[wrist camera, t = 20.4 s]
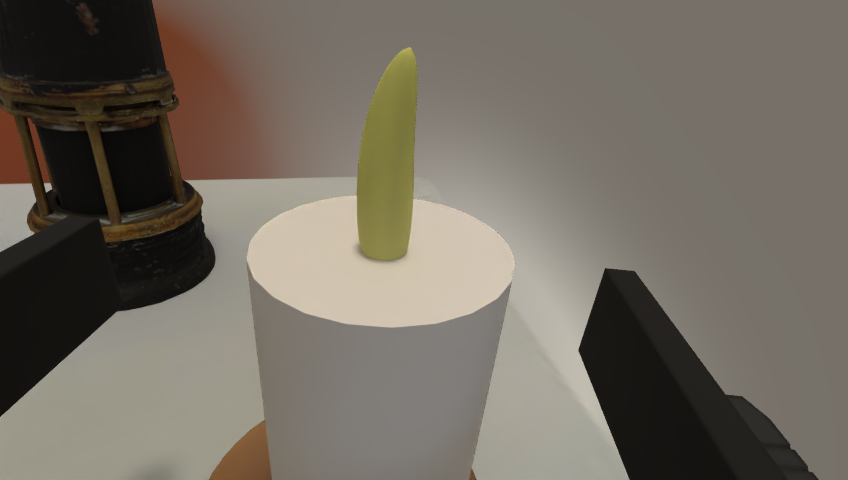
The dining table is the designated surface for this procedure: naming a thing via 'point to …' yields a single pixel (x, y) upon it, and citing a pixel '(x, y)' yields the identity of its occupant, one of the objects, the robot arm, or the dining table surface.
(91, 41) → the lantern
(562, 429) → the dining table surface
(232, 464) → the coaster
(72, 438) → the dining table surface
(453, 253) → the candle
